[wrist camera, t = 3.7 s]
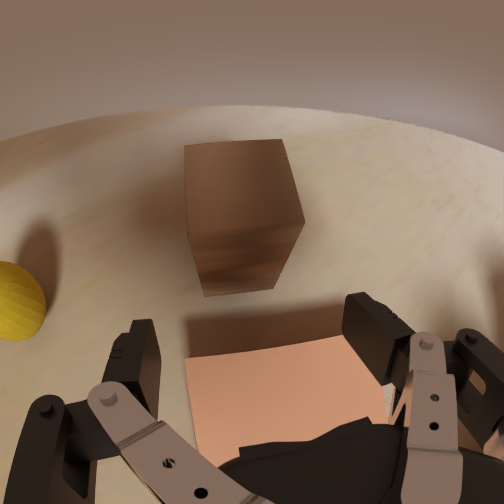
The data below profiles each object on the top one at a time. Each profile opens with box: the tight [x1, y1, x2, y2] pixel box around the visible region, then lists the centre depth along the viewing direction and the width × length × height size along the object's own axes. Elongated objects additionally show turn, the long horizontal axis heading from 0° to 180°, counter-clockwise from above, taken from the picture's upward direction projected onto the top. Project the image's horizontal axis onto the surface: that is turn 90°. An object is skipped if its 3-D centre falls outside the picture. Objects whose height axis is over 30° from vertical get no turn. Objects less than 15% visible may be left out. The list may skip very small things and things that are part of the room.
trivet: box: [184, 335, 388, 467], centre depth 16 cm, size 12×12×3 cm
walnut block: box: [184, 139, 305, 297], centre depth 18 cm, size 5×5×10 cm
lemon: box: [0, 261, 46, 341], centre depth 15 cm, size 6×6×8 cm
